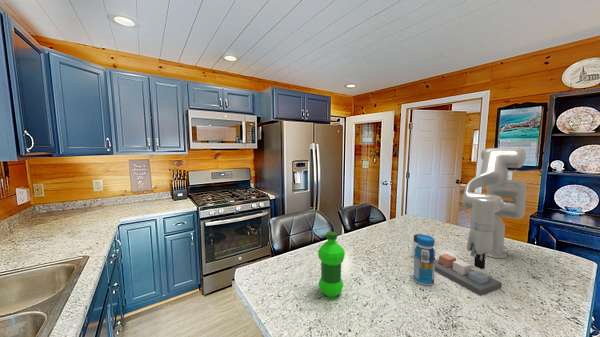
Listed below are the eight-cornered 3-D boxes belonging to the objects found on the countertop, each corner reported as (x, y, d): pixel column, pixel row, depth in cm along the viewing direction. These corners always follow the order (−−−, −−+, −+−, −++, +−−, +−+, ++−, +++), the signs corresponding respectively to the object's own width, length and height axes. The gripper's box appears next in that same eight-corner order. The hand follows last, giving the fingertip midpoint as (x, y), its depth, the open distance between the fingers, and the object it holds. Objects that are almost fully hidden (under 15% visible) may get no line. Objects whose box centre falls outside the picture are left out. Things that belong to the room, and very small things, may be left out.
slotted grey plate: (447, 262, 119) (447, 257, 119) (501, 288, 97) (501, 282, 97) (427, 267, 114) (427, 262, 114) (479, 295, 92) (480, 289, 92)
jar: (424, 263, 118) (425, 241, 117) (409, 257, 125) (410, 236, 124) (433, 259, 123) (434, 237, 122) (418, 253, 129) (419, 232, 128)
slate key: (475, 278, 102) (476, 270, 102) (488, 285, 98) (488, 276, 97) (468, 281, 101) (468, 272, 100) (480, 287, 96) (481, 278, 96)
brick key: (445, 261, 115) (446, 253, 115) (455, 266, 111) (456, 258, 110) (438, 263, 113) (439, 255, 113) (448, 268, 109) (448, 259, 109)
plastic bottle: (317, 285, 99) (317, 228, 97) (341, 286, 98) (343, 229, 96) (318, 300, 89) (319, 238, 87) (345, 301, 88) (347, 238, 86)
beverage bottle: (408, 277, 105) (410, 235, 103) (421, 274, 108) (423, 232, 106) (425, 288, 97) (427, 242, 95) (438, 283, 100) (441, 239, 99)
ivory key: (459, 268, 109) (460, 259, 108) (471, 273, 104) (471, 264, 104) (452, 270, 107) (453, 261, 107) (463, 275, 102) (464, 266, 102)
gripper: (483, 221, 103) (481, 259, 105) (461, 226, 98) (458, 266, 100) (503, 226, 96) (500, 268, 98) (480, 232, 91) (477, 275, 93)
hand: (479, 267), depth 99 cm, fingers closed
